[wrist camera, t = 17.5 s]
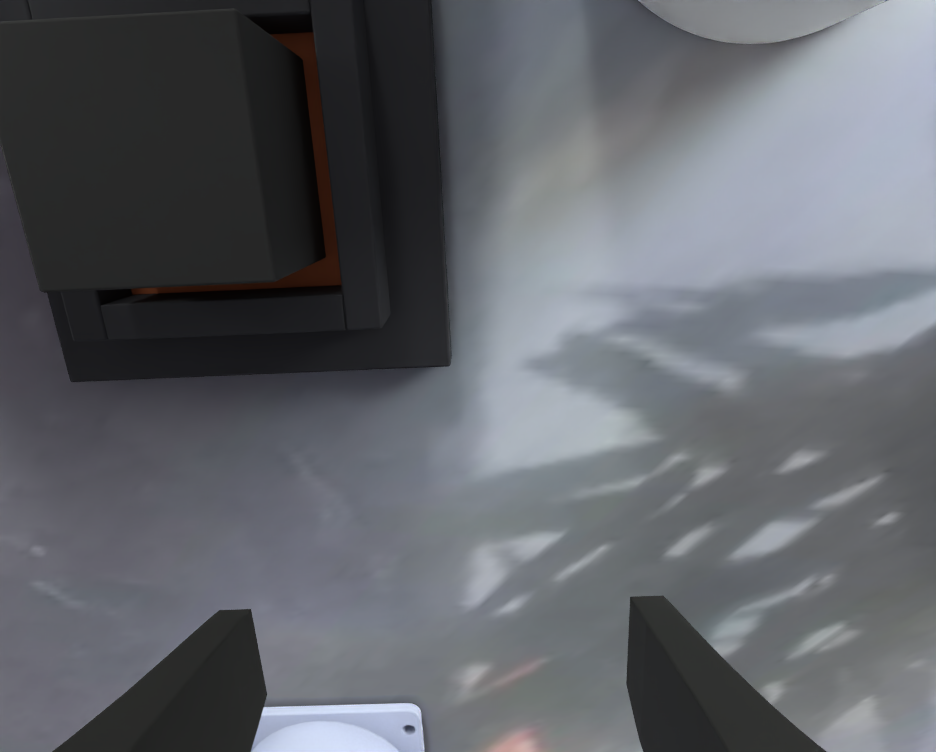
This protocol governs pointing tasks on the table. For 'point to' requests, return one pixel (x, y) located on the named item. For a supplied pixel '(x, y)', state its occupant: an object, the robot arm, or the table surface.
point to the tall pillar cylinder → (755, 17)
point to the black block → (158, 150)
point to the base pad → (342, 212)
